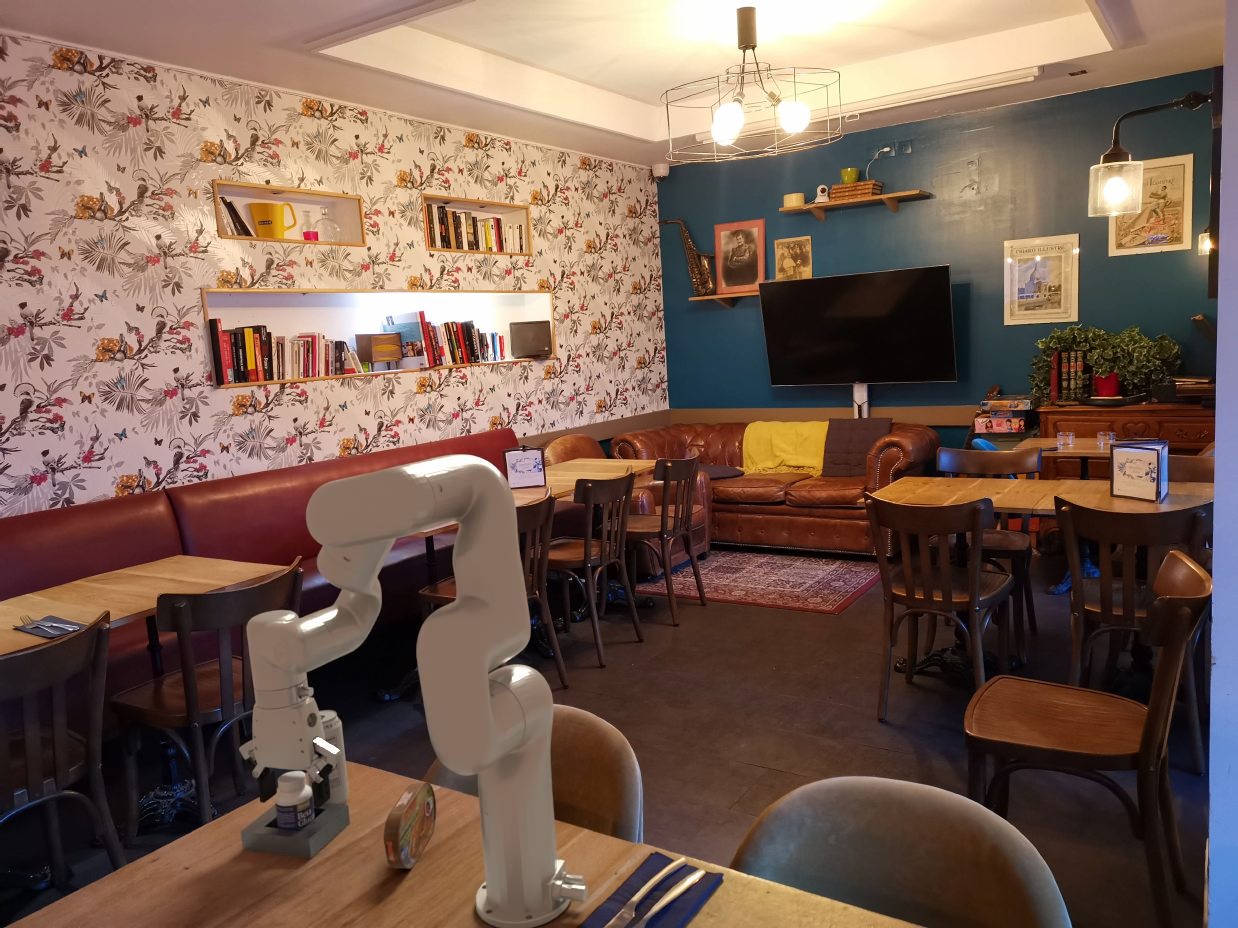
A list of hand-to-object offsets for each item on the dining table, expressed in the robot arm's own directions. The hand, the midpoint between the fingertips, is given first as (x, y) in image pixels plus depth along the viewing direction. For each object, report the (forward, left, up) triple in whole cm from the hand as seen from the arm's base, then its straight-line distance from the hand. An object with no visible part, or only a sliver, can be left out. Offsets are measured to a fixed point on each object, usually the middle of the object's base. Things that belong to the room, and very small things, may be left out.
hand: (295, 800), depth 136 cm
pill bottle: (0, 0, -6) cm, 6 cm away
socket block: (0, 0, -6) cm, 6 cm away
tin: (-20, 0, -6) cm, 21 cm away
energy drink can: (+1, -10, -6) cm, 12 cm away
